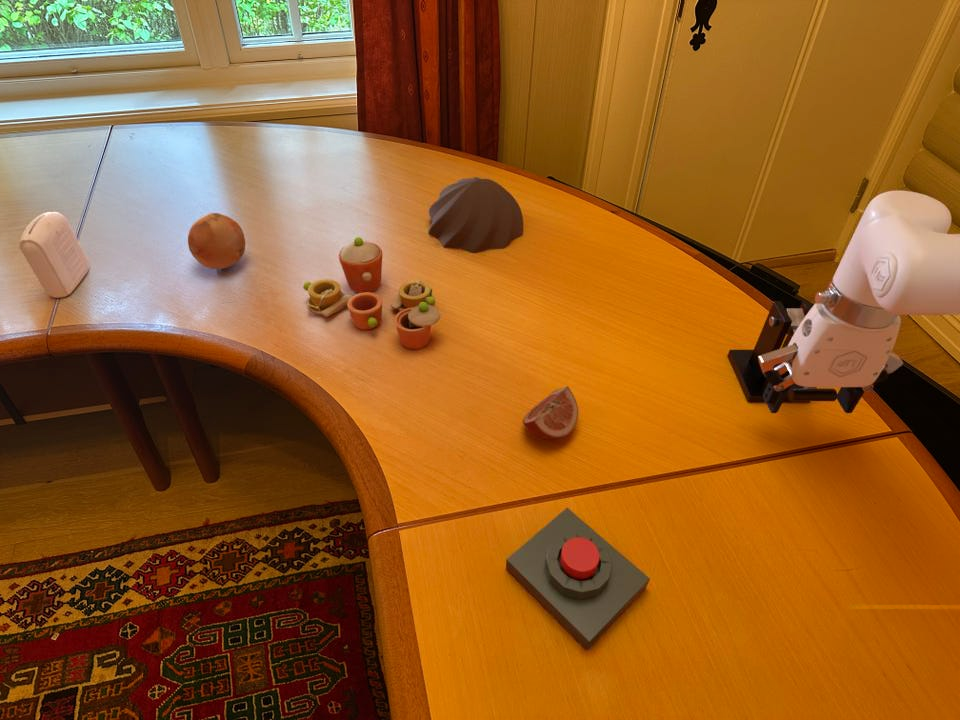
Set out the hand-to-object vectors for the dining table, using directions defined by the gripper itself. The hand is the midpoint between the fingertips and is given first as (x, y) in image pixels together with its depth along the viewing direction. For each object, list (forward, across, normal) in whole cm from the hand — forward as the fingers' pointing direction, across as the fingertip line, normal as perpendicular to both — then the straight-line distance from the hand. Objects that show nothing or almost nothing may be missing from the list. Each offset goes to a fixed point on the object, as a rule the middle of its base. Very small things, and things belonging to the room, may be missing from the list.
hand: (806, 405), depth 80 cm
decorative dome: (+5, -44, +54) cm, 70 cm away
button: (+2, -32, -22) cm, 39 cm away
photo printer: (+5, -117, +34) cm, 122 cm away
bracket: (+5, 0, +10) cm, 11 cm away
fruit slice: (+5, -33, 0) cm, 34 cm away
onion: (+5, -91, +40) cm, 99 cm away
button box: (+5, -32, -22) cm, 39 cm away
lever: (-3, 0, +6) cm, 7 cm away
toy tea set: (+5, -60, +27) cm, 66 cm away
